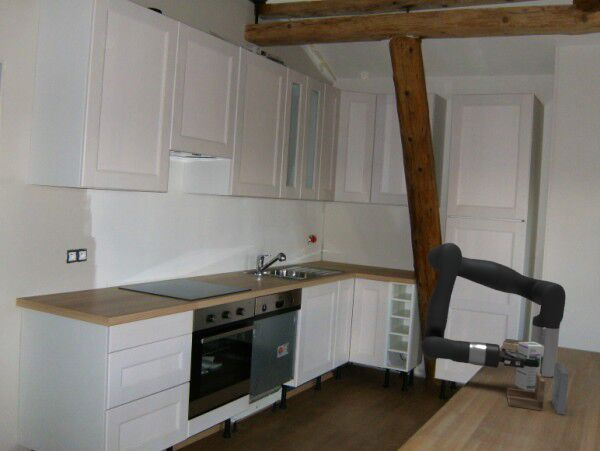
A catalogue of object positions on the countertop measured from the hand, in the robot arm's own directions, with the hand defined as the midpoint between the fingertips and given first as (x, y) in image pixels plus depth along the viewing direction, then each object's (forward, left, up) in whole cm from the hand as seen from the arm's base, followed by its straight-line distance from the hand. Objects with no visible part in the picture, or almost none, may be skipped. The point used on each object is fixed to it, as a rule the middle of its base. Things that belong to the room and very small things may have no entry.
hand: (536, 360), depth 205 cm
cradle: (+13, -4, -10) cm, 17 cm away
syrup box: (0, -2, -9) cm, 10 cm away
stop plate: (+13, +5, -11) cm, 18 cm away
